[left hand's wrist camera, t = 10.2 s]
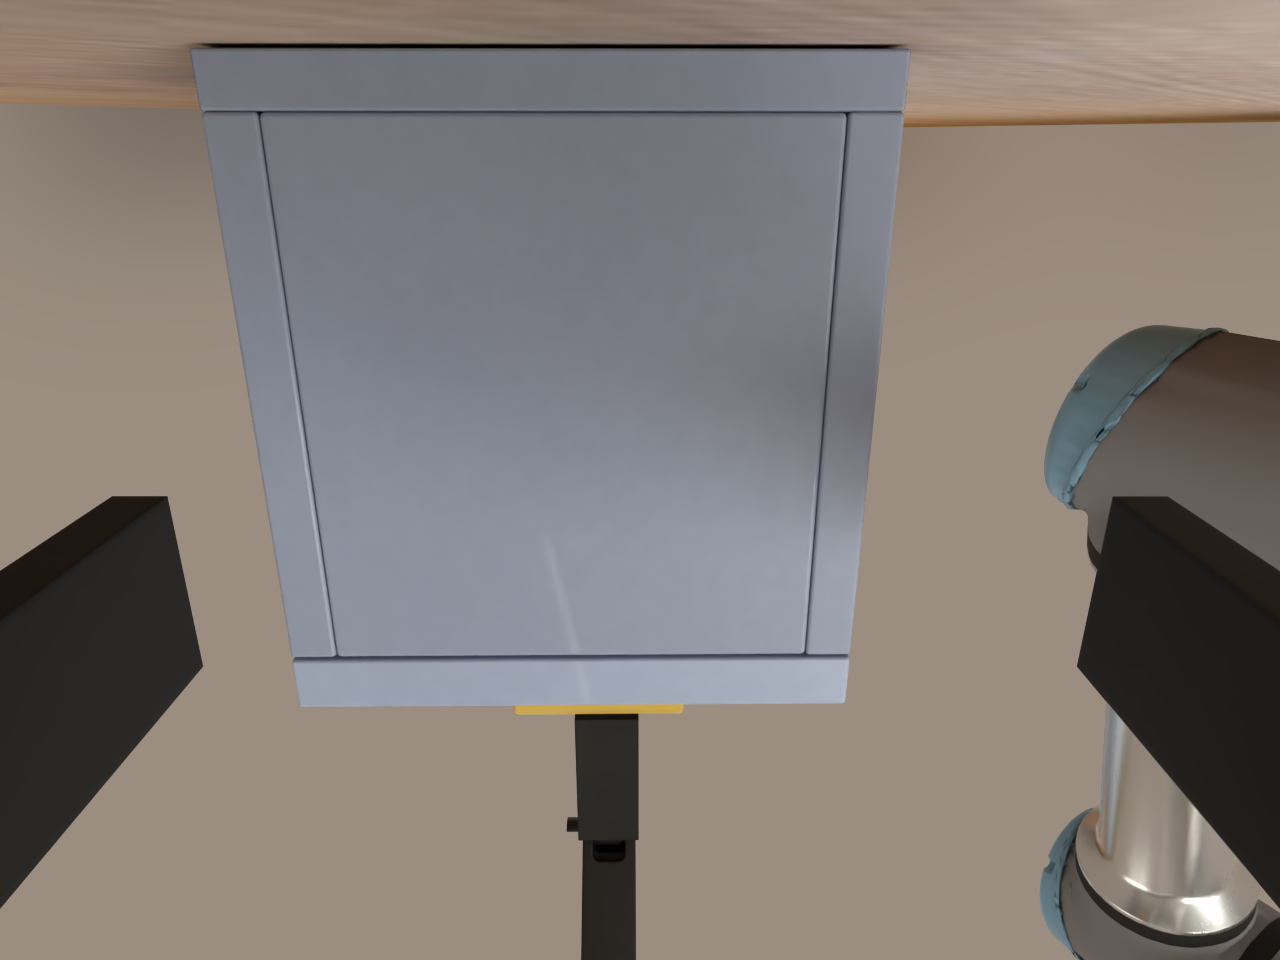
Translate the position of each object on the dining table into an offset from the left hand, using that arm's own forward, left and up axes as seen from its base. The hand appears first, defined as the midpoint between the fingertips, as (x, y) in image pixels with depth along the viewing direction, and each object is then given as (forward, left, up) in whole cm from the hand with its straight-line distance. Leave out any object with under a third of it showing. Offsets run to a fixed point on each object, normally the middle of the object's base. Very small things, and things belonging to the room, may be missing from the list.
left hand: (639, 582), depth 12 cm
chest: (+7, -6, -7) cm, 11 cm away
